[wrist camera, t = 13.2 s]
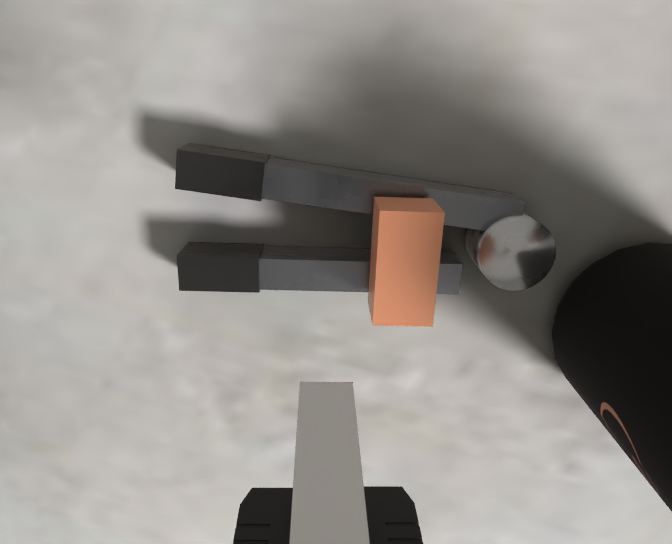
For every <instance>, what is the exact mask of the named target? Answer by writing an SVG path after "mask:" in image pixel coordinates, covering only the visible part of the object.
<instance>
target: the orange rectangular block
mask: <svg viewBox="0 0 672 544" xmlns="http://www.w3.org/2000/svg"><path fill="white" fill-rule="evenodd" d="M444 217H445V212H444V211H443V210H442V209H441V207H440V206H439V205H438V204H437V203H436V202H435V201H434V199H433V198H402V197H374V209H373V226H372V242H371V259H370V276H369V293H368V304H369V309H370V314H371V320H372V325H388V326H432V327H433V319H434V310H435V300H436V291H437V282H438V272H439V263H440V254H441V245H442V235H443V226H444Z"/></svg>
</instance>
